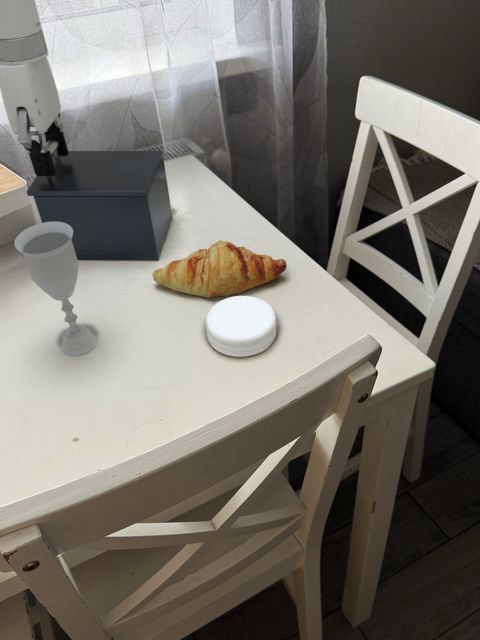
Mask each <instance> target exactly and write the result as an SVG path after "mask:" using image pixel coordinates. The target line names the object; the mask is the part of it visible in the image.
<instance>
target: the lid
mask: <svg viewBox="0 0 480 640" xmlns="http://www.w3.org/2000/svg"><path fill="white" fill-rule="evenodd" d="M59 145H60V141H59V140H58V139H57V138H56V137H50V138H49V140H48V141H47V143H46V147H47V151H50V153H51V157H52V160H53V163H54V167H55V170H56V174H55V176H37V175H36V177H35V178H34V179H33V181H32V182H31V184H30V185H29V187H28V188H27V189H26V195H27V197H34V196H147V195H148V192H149V190H150V187H151V184H152V182H153V179H154V177H155V174H156V172H157V169H158V166H159V164H160V161H161V159H162V156H163V157H164V153H163V150H68V152H69V154H68V156H60V154H59V151H58V147H59ZM53 154H54V156H53Z"/></svg>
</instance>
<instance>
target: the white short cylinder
mask: <svg viewBox="0 0 480 640" xmlns="http://www.w3.org/2000/svg"><path fill="white" fill-rule="evenodd" d="M205 328H206V337H207V340H208V342H209V344H210V346H211V347H212V348H213V349H215V350H216V351H217V352H218V353H221V354H223V355H226V356H229V357H237V358H238V357H240V358H242V357H243V358H244V357H249V356H251V357H252V356H255V355H257V354H259V353H262V352H263V351H265V350H267V349H268V348H269V347H270V346H271V345H272V344H273V342H274V341H275V338H276V336H277V315H276V312H275V310H274V308H273V307H272V306H271V304H269V303H268V302H267V301H265V300H263V299H261V298H258V297H255V296H250V295H234V296H230V297H227V298H224V299H221V300H220V301H218V302H217V303H215V304H213V305H212V307H210V309H208V311H207V314H206V317H205Z"/></svg>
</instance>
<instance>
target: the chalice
mask: <svg viewBox="0 0 480 640" xmlns="http://www.w3.org/2000/svg"><path fill="white" fill-rule="evenodd" d="M72 236H73V229H72V227H71V226H70V225H68V224H66V223H63V222H45V223H42V222H40V223H38V224H34V225H32V226H29V227H28V228H25V229H24V230H23V231H21V232H20V233H19V234H18V235H17V236H16V238H15V239H14V246H15V249H16V251H18V252H19V253H20V254H22V256H23V259H24V262H25V264H26V267H27V269H28V273H29V275H30V278H31V280H32V281H33V282H34V283H35V284H36V286H38V287H39V289H40V290H42V291H43V292H44V293H46V294H47V295H48V296H49V297H51V299H53V300H55V301H59V302H60V301H61V303H62V304H61V309H60V310H61V311H62V312H63V313H64V314H65V316H64V322H65V323H67V324H68V325H69V327H68V328H67V329H66V330H65V331H64V333H63V335H62V340H61V341H62V342H61V350H62V351H61V352H63V353H64V354H66V355H67V356H71V357H79V356H83V355H86V354H89V353H90V352H91V351H93V350H94V349H95V348H96V346H97V344H98V338H97V336H96V335H95V334H93V332H92V331H91V330H90V329H89V328H88V327H86V326H84V325H79V324H77V319H78V314H76V313H74V312H73V309H74V305H73V303H71V302H70V299H69V298H71V297H72V296H73V295H74V292H75V288H76V284H77V281H78V273H79V260H77V257H76V253H75V250H74V247H73V243H72Z"/></svg>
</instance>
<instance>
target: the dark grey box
mask: <svg viewBox="0 0 480 640" xmlns="http://www.w3.org/2000/svg"><path fill="white" fill-rule="evenodd" d="M169 191H170V190H169V186H168V179H167V172H166V167H165V159H164V155H163V156H162V159H161V161H160V164H159V166H158V169H157V172H156V174H155V177H154V179H153V182H152V184H151V187H150V190H149V192H148V195H147V196H33V199H34V202H35V206H36V208H37V211H38V215H39V218H40V221H41V223H45V222H63V223H66V224H68V225H70V226H71V227H72V229H73V236H72V243H73V247H74V250H75V253H76V257H77V260H78V261H128V262H129V261H130V262H131V261H135V262H139V261H141V262H158V261H160V258H161V254H162V251H163V247H164V245H165V242H166V238H167V236H168V232H169V229H170V225H171V222H172V219H173V211H172V205H171V200H170V199H171V198H170V192H169Z"/></svg>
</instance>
